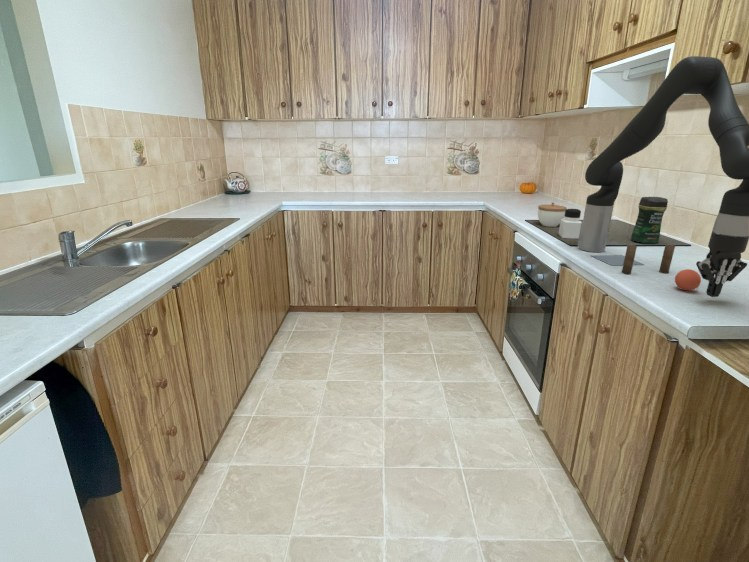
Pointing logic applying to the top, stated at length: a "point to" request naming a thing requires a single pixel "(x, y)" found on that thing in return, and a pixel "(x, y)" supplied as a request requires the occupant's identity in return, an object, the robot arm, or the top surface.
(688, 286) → the ball
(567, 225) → the medicine bottle
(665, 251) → the post
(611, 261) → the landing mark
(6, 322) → the top surface
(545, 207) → the white lidded pot
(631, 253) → the post
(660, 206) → the coffee jar
